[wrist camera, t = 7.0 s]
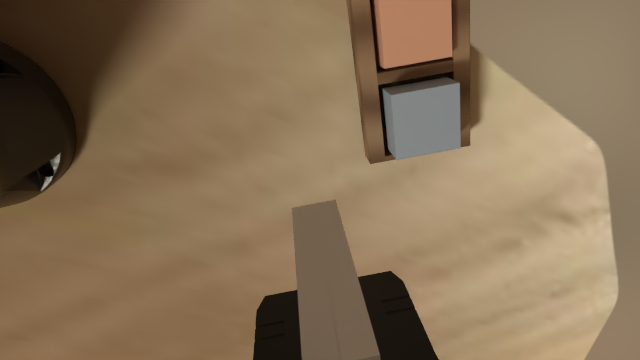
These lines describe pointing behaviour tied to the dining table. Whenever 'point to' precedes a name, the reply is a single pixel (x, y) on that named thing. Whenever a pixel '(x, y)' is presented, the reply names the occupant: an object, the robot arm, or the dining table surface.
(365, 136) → the button board
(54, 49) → the dining table surface
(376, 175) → the dining table surface
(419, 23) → the cap terracotta
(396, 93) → the cap slate
